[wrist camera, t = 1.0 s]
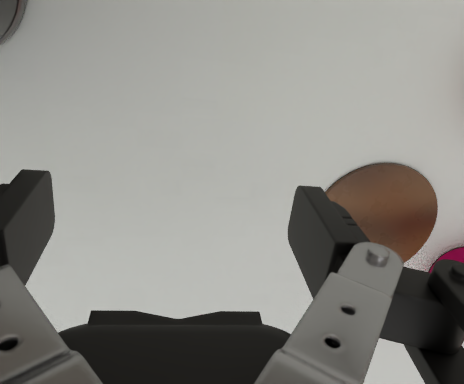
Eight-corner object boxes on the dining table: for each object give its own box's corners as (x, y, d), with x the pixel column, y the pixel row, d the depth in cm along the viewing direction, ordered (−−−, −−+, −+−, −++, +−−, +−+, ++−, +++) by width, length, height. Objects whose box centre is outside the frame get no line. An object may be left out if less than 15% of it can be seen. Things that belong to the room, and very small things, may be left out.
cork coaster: (299, 184, 34) (300, 186, 34) (434, 146, 34) (436, 148, 34) (319, 288, 40) (320, 290, 40) (435, 255, 40) (438, 258, 40)
